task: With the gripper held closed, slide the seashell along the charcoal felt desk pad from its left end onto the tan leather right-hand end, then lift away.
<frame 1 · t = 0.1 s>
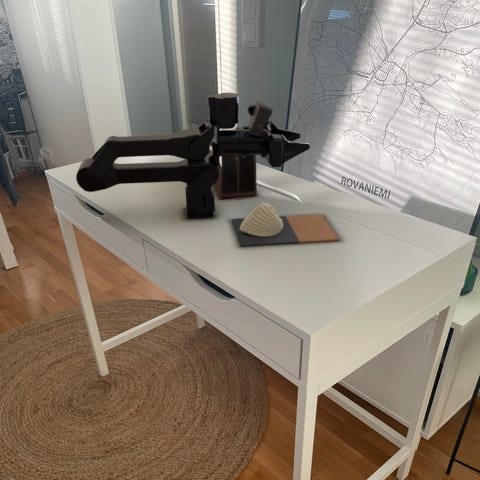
hand: (304, 140, 113), 17 cm above the table, tool horizontal, fingers open, 9 cm apart
letter holder: (230, 185, 137), on the table
seashell: (262, 230, 111), resting on desk pad
desk pad: (283, 230, 112), on the table
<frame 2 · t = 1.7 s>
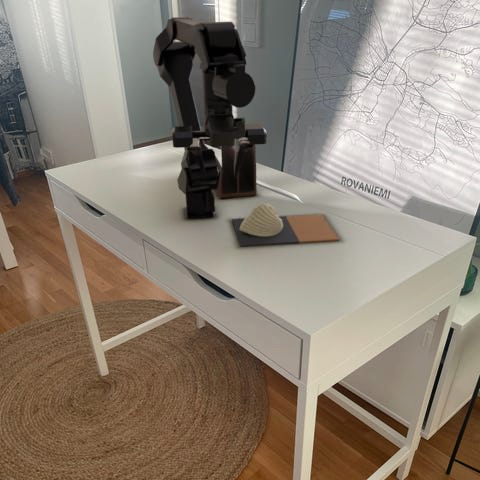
hand: (219, 177, 103), 13 cm above the table, tool pointing down, fingers open, 6 cm apart
nothing on the table moved.
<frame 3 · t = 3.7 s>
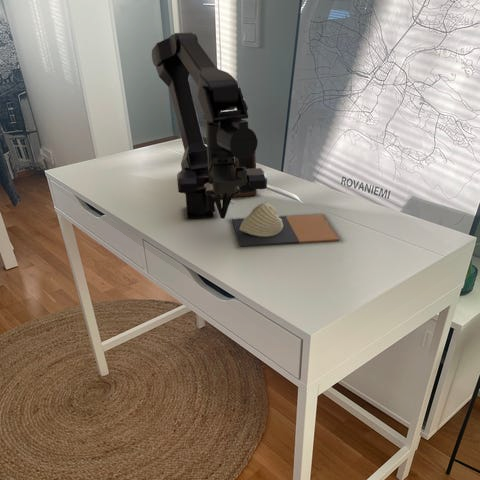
hand: (222, 218, 108), 4 cm above the table, tool pointing down, fingers closed
nothing on the table moved.
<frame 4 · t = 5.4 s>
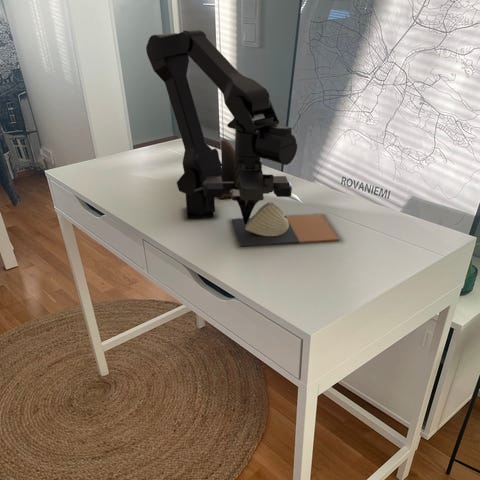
hand: (245, 223, 110), 2 cm above the table, tool pointing down, fingers closed, pressing on seashell
seashell: (267, 230, 111), resting on desk pad, touching gripper
everything else where it was.
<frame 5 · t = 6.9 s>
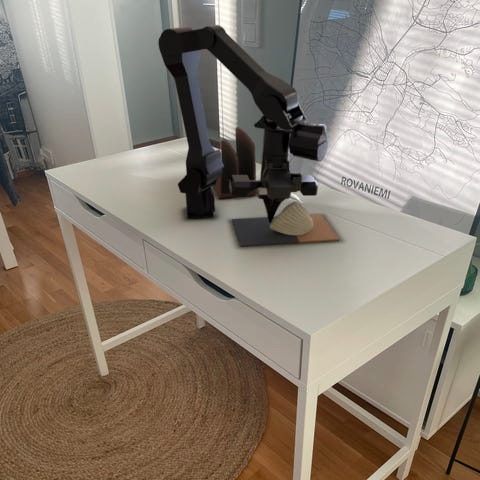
hand: (269, 222, 110), 2 cm above the table, tool pointing down, fingers closed, pressing on seashell
seashell: (292, 229, 112), resting on desk pad, touching gripper
everything else where it was.
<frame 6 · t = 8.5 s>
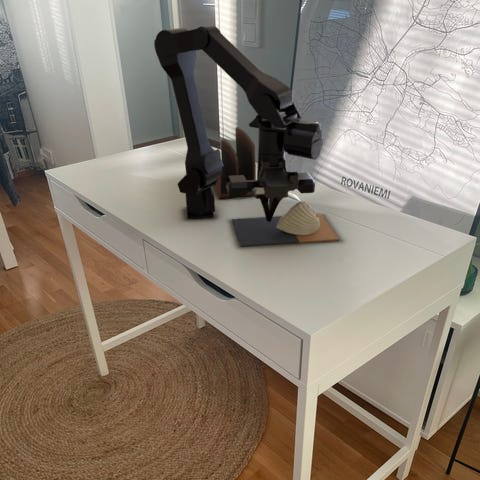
hand: (268, 221, 110), 2 cm above the table, tool pointing down, fingers closed
seashell: (298, 229, 112), resting on desk pad
everything else where it was.
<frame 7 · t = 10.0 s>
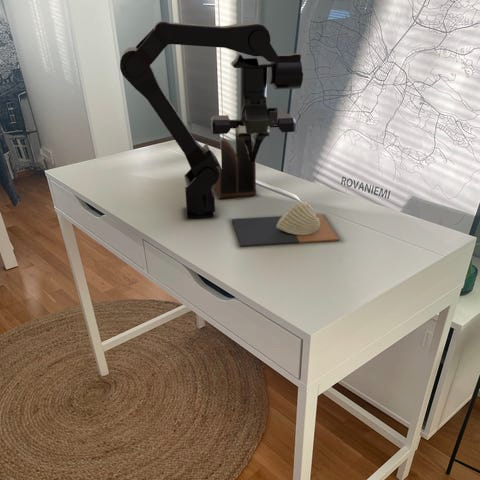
hand: (252, 161, 115), 12 cm above the table, tool pointing down, fingers closed
nothing on the table moved.
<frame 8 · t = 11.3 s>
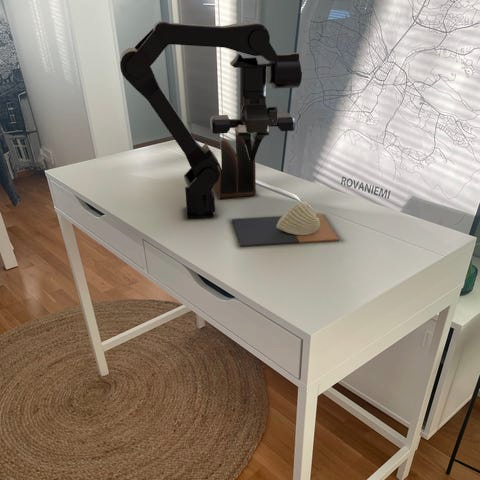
hand: (251, 161, 115), 12 cm above the table, tool pointing down, fingers closed
nothing on the table moved.
at the end: seashell inside the target area (2.8 cm from its centre), resting on desk pad; seashell moved 8.5 cm from its start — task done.
